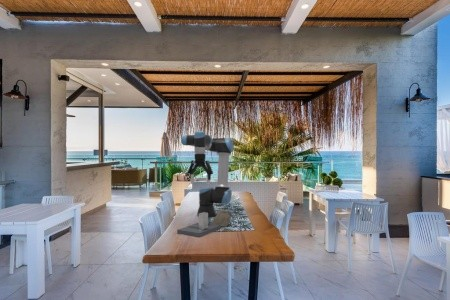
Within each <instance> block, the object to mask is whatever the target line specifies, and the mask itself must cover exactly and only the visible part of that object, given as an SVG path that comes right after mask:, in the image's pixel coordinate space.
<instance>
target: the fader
mask: <svg viewBox="0 0 450 300" xmlns="http://www.w3.org/2000/svg"><path fill="white" fill-rule="evenodd" d="M208 221H209V217H208V213H206V212H203V213H199V216H198V223H199V229H202V230H204V229H206V228H208Z"/></svg>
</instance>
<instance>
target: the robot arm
mask: <svg viewBox="0 0 450 300" xmlns="http://www.w3.org/2000/svg"><path fill="white" fill-rule="evenodd" d="M180 140H181V142H180V143H181V145H183V146H190V147H194V160H192V159H191V160H190V164H189V165H190V166H189V168H188V170H187V174H189V180H190V184H191V185H192V184H193V185H194V184H195V175H194V173H195V171H196V170H197V169H198V168H199V167H200V168H202V169H203V170H204V172H205V173H206V186H207V185H208V186H209V185H211V179H212V177H211V175H213V174H214V172H213V169H212V167H211V165H210V160H206V151H208V152H212V153H216V155H218V163H217V182H216V183H217V185H215V186H214V187H215V188H214V187H213V186H209V187H201V188H200V189H199V190H198V191H199V192H198V193H199V194H198V198H199V199H198V201H199V202H198V203H199V206H198V210H197V215H196V216H197V217H199V213H203V212H206V213H208V218H213V217H216V216H217V214H216V210H215V206H214V204H218V205H219V204H220V205H221V204H222V205H224V204H225V205H226V204H229V203H230V202H231V200H232V194H233V193H232V192H233V191H232V190H231V188H230V186H229V185H228V184H229V164H230V161H229V160H230V156H232V153H233V152H234V148H235V146H234V142H233V139H231V138H229V137H217V138H216V137H213V138H212V136H211V135H210V134H206V132H205V131H203V130H201V131H200V130H199V131H197V130H196V131H195V132H194V134H185V135H182V136H181V138H180Z"/></svg>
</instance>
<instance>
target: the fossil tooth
mask: <svg viewBox="0 0 450 300" xmlns="http://www.w3.org/2000/svg"><path fill="white" fill-rule="evenodd" d="M231 219H232V215H230V213H229V212H228V211H227V210H224V209H222V210H219V212H218V213H217V214H216V216H214V218H213V219H212V221H211V223H210V224H213V225H220V227H224V228H226V227H228V225H229V224H230V222H231Z"/></svg>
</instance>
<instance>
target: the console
mask: <svg viewBox="0 0 450 300" xmlns="http://www.w3.org/2000/svg"><path fill="white" fill-rule="evenodd" d="M220 230H221V226H220V225H213V224H211V223H210V221H209V220H208V228H206V229H204V230H202V229H199V222H196V223H193V224H190V225H187V226H185V227H182V228H178V229H177V230H176V233H177V234H178V235H183V236H190V237H196V238H201V237H203V236H206V235H208V234H212V233H214V232H217V231H220Z"/></svg>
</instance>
